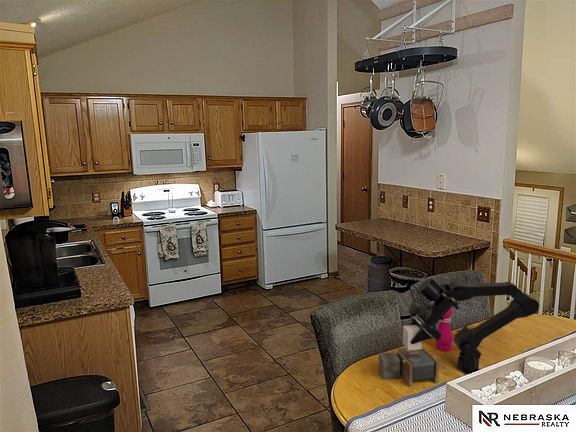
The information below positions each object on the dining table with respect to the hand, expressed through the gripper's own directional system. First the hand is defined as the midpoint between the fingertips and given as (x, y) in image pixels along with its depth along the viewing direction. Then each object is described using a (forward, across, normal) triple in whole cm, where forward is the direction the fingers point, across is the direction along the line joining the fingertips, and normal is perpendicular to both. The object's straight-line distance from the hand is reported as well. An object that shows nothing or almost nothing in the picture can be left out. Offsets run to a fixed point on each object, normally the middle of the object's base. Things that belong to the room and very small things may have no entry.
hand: (408, 340), depth 164 cm
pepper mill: (-6, -17, +24) cm, 29 cm away
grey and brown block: (+6, +3, +8) cm, 11 cm away
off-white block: (+1, 0, +3) cm, 3 cm away
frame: (+8, +5, +10) cm, 13 cm away
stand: (+14, +1, +3) cm, 15 cm away
